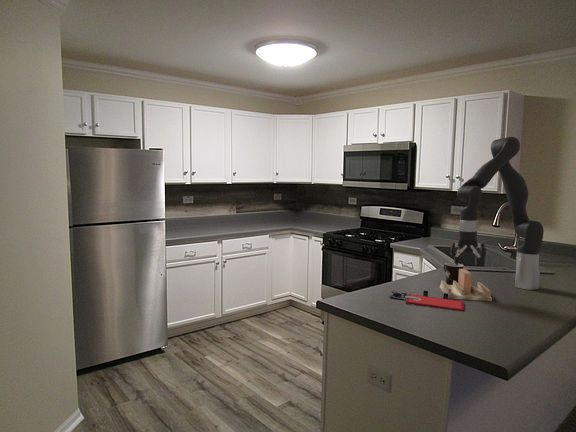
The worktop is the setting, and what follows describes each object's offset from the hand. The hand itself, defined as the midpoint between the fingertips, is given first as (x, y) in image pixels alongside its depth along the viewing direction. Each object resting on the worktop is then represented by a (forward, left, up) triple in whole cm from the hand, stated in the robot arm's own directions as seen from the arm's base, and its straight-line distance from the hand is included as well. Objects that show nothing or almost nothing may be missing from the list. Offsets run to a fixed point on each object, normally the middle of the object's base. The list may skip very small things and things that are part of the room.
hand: (466, 265), depth 180 cm
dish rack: (0, 0, -14) cm, 14 cm away
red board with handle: (+20, +15, -14) cm, 29 cm away
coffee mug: (+1, -18, -14) cm, 23 cm away
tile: (0, 0, -12) cm, 12 cm away
